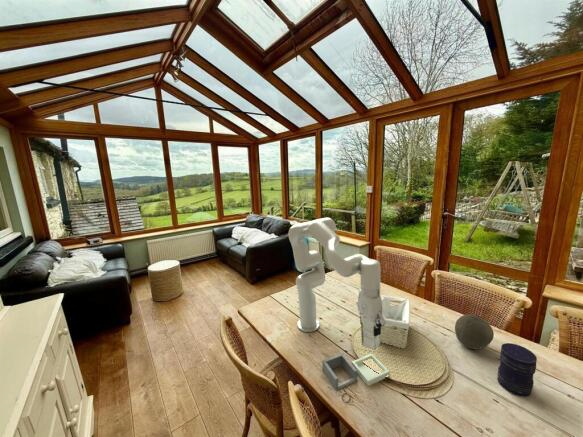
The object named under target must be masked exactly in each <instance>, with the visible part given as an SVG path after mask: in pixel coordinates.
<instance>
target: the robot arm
mask: <svg viewBox="0 0 583 437" xmlns="http://www.w3.org/2000/svg"><path fill="white" fill-rule="evenodd" d="M336 229H337V225H336V222H335V221H334V220H333V219H332V218H330V217H322V218H317V219H314V220H310V221H304V222H300V223H296V224H294V225H292V226H291V227H290V228H289V230H288V239H289V242H290V244H291V248H292V252H293V254H292V255H293V258H294V264H295V268H296V269H297V271H299V272H304V273H301V274H299V275H297V277H296V278H295V286H296V289H297V295H298V310H299V320H298V321H297V323H296V324H297V328H298V329H299V330H300V331H301V332H304V333H312V332H315V331H316V330H318V329H320V328H319V327H320V321H319V320H318V319H317V302H316V301H317V299H316V294H315V293H314V292H313V289H316V288H317V287H320V286H322V285H323V284H325V282H326V273H325V265H324V261H323V257H322V255H321V253H320V252H319V251H318V250H309V246H308V243H307V241H306V240H305V239H309V238H314V239H315V240H316V241H317V242H318V243H319V244H320V245H321V246H322V247H323V248H324V249H325V256H326V259H327V261H328V262H327V263H328V264H329V265H330V267H331V268H332V269H333V270H334V272H336V273H337V274H338V275H339V276H341V277H343V278H349V277H350V278H351V277H353V276H354V275H356V274H360V289H359V291H358V295H357V298H358V299H357V300H358V301H356V306H357V310H358V312H359V313H358V314H359V316H360V317H359V321H360V322H359V323H360V325H361V314H364V315H365V317H366V318H368V319H369V320H370V321H372V322H373V323H374V326H375V327H374V336H378V335H380V334H381V327H382V326H384V325H385V324H386V321H385V319H384V318H383V316H382V301H381V272H382V271H381V270H382V269H381V262H380V261H378V260H376V259H375V258H374V259H373V258H369V257H367V256H366V255H365V254H361V253H355V254H352V255H350V256H346V257H342V256H341V255H340V254H339V253H338V252H337V250H336V249H337V247H338V246H339V244H340V241H341V238H340V236H339V235H338V234H337V233H336V232H335V231H336ZM377 320H378V323H379V324H377V323H376V321H377Z"/></svg>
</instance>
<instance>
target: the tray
mask: <svg viewBox="0 0 583 437" xmlns="http://www.w3.org/2000/svg"><path fill="white" fill-rule="evenodd" d="M370 358H371V359H373V361H374V362H375V363H376V364H377V365H378V366H379V367H380V368H381V369H382V370H383V372H381V373H379V374H378V373H376V372H374V371H373V370H372V369H370V368H369V367H367V366H366V365H364V364H363V361H365V360H368V359H370ZM351 364H352V365H353V366H354V367H355V368H356V370H357V376H359V377H360V378H361V380H362V381H363V382H364V384H366V385H367V387H370V386H372V385H374V384H376V383H378V382H381V381H383V380H385V379H386V378H385V376H387V375H389V376H390V370H388V368H387V367H386V366H385V365H384V364H383V363H382V362H381V361H379V360H378V358H377V357H376V356H375V355H374V354H373V353H369V354H366V355H364V356H362V357H359V358H357V359H355V360H352V361H351Z"/></svg>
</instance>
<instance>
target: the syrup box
mask: <svg viewBox="0 0 583 437" xmlns="http://www.w3.org/2000/svg"><path fill="white" fill-rule="evenodd" d="M360 316H361V324H360V331H361V335H360V336H361V346H362V347H364V348H367V349H369V350H372V351H376V349H378V347H379V345H380V344H381V342H380V335H378V336H374V327H375V326H374V323H373V322H372V321H370V320H369V319H368V318H366V317H365V315H364V314H361V315H360ZM376 323H377V324H379V323H378V320H377V321H376Z"/></svg>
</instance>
